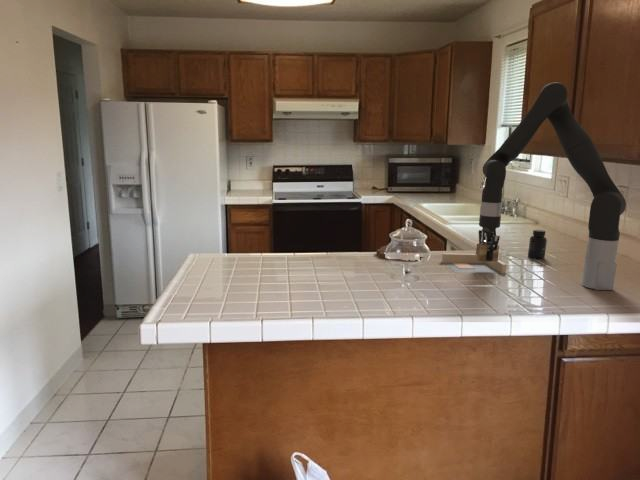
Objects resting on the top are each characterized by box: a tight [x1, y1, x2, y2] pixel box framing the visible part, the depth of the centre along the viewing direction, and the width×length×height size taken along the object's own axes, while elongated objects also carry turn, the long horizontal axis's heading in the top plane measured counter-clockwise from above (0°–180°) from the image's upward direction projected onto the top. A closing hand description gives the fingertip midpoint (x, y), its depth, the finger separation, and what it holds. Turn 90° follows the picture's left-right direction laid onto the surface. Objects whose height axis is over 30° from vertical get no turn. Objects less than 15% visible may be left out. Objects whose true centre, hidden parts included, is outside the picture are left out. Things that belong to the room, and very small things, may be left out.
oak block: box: [475, 243, 500, 261], centre depth 196 cm, size 4×7×6 cm, turn 96°
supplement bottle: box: [527, 229, 548, 260], centre depth 223 cm, size 7×7×12 cm
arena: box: [440, 252, 508, 275], centre depth 202 cm, size 18×19×4 cm
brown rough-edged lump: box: [375, 245, 388, 260], centre depth 220 cm, size 20×20×11 cm
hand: (486, 259), depth 197 cm, fingers closed on oak block, 4 cm apart
